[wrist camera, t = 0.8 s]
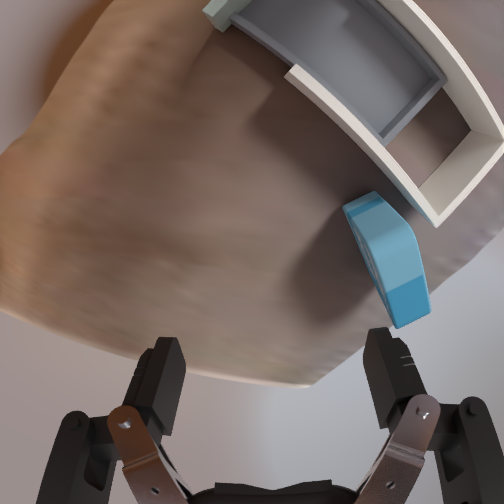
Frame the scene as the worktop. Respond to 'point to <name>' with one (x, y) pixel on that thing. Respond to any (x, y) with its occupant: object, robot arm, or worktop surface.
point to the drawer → (343, 54)
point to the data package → (390, 257)
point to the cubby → (463, 96)
